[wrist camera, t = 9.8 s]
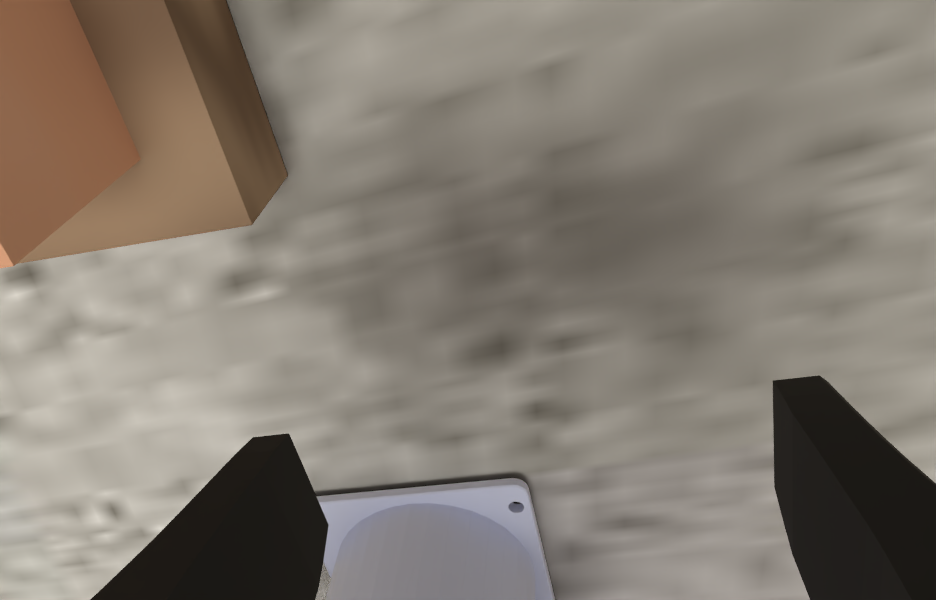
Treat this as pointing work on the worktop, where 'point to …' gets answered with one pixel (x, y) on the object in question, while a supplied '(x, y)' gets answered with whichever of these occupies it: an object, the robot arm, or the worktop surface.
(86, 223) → the walnut block
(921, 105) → the worktop surface
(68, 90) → the terracotta cube
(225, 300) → the worktop surface
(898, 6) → the worktop surface
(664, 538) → the worktop surface
